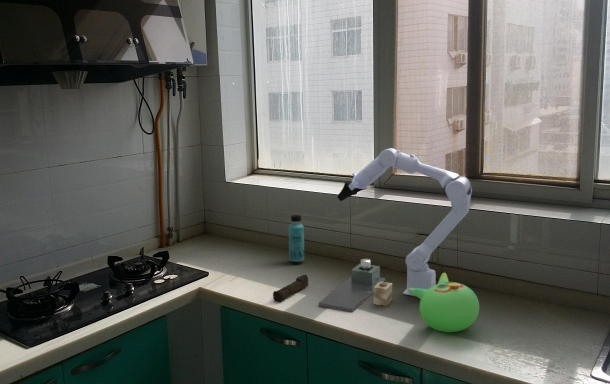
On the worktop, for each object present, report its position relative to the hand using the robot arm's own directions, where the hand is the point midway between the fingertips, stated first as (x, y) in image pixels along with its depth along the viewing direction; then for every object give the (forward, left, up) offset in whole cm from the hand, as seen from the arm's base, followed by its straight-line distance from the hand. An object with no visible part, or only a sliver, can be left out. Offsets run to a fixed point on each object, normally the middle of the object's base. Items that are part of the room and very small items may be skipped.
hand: (343, 196), depth 201 cm
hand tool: (+12, +18, -32) cm, 39 cm away
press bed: (-8, +9, -32) cm, 34 cm away
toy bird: (-44, +24, -32) cm, 59 cm away
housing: (-20, +13, -32) cm, 40 cm away
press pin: (-8, -2, -28) cm, 29 cm away
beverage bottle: (+26, -12, -32) cm, 43 cm away
